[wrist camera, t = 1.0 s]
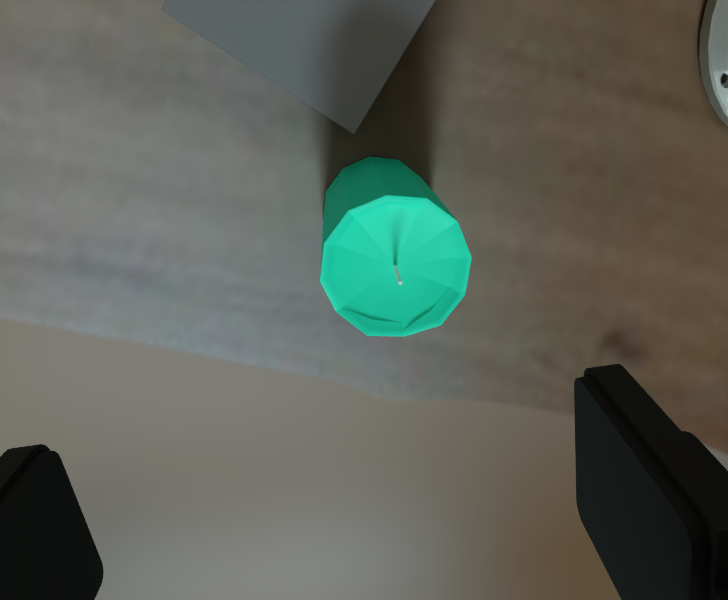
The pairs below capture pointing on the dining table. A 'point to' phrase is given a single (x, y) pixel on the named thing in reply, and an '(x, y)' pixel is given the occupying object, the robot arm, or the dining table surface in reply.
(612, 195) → the dining table surface
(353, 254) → the candle
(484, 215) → the dining table surface
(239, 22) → the plinth
